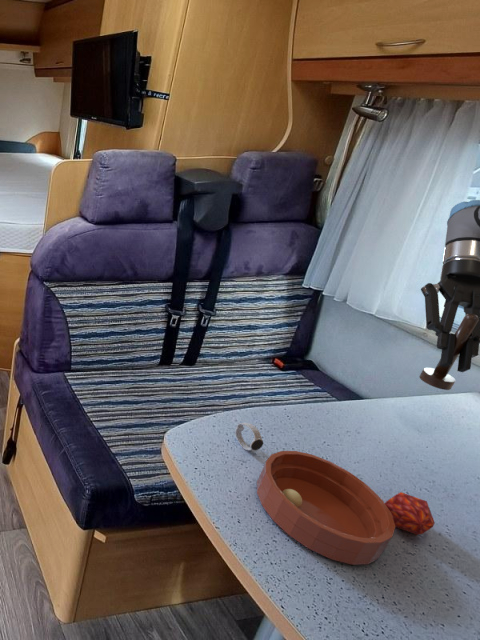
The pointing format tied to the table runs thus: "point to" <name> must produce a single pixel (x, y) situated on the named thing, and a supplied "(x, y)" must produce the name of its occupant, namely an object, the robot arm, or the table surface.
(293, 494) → the dough ball
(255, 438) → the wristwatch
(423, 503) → the decorative stone
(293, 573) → the table surface
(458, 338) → the wooden handled stamp
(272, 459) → the bowl
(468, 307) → the robot arm
